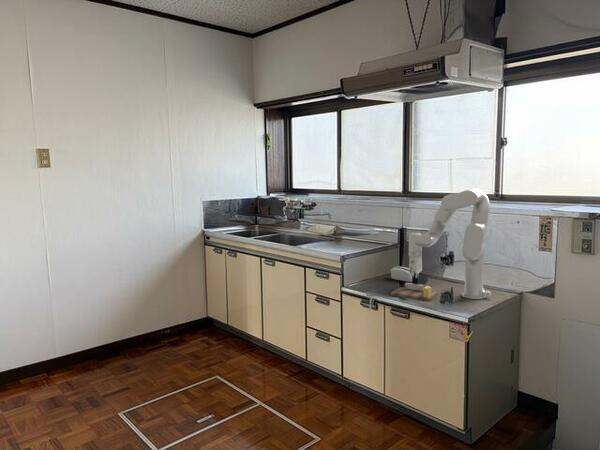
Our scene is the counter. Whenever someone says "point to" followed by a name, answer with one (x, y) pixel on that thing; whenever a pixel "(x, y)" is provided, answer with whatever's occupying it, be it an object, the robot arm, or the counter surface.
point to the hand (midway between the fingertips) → (415, 283)
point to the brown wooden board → (413, 294)
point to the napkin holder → (401, 274)
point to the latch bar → (414, 286)
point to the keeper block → (426, 291)
